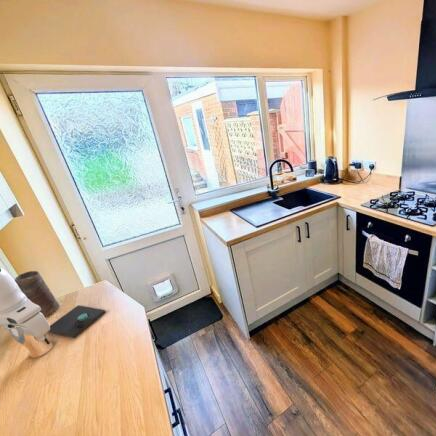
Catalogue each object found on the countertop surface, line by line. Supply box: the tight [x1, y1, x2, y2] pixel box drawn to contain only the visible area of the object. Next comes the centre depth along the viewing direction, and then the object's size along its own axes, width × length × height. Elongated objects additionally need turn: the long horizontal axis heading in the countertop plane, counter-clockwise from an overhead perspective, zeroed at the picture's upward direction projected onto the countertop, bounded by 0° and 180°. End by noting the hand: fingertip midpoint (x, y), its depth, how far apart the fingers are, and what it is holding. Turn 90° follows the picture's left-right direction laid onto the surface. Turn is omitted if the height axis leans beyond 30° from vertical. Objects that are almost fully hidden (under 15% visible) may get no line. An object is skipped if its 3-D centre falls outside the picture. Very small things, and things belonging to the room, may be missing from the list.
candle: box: [14, 270, 60, 317], centre depth 105 cm, size 8×7×20 cm
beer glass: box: [6, 324, 54, 359], centre depth 87 cm, size 7×7×15 cm
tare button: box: [78, 313, 88, 322], centre depth 99 cm, size 3×3×2 cm
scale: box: [47, 305, 106, 339], centre depth 101 cm, size 16×13×3 cm
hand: (34, 338), depth 88 cm, fingers closed on beer glass, 6 cm apart
